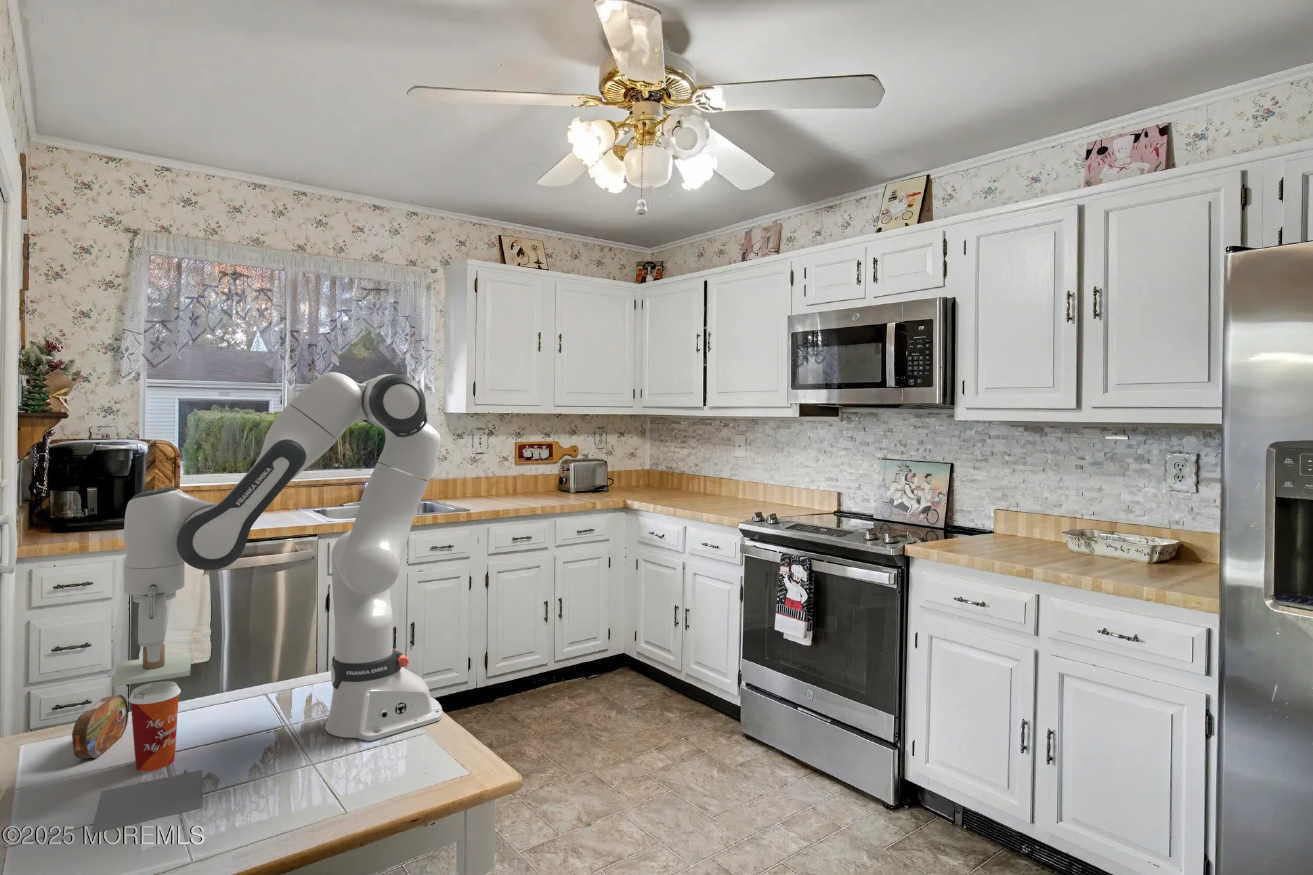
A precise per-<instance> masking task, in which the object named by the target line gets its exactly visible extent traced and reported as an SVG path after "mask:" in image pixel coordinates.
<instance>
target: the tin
mask: <svg viewBox="0 0 1313 875" xmlns="http://www.w3.org/2000/svg"><path fill="white" fill-rule="evenodd" d="M128 722H129V704H128V701H127V699H126V697H125V696H124V695H122V694H117V695H110V696H105V697H103V698H101V699H99V701H96V703H95V704H93V705H92V706H91V707H89V708H88V709H86V710H85V711H84V712H83V713H82V714H80V716H79V717H78V718H77V719H76V722H75V723H74V726H73V727H72V728H73V729H72V731H71V732H72V733H71V738H72V748H73V755H74V756H75V757H76V758H77V759H79V760H86V759H87V760H88V759H98V758H100V757H101V756H102V755H103V754H104V753H106V751H108V750H109V749H110V748H111V747H112V746H113V745H114V744H115V743H116V742H118V741H119V740H120V739H121V738H122V737H123V736H124V733H125V731H126V728H127V726H128ZM100 755H101V756H100Z"/></svg>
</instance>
